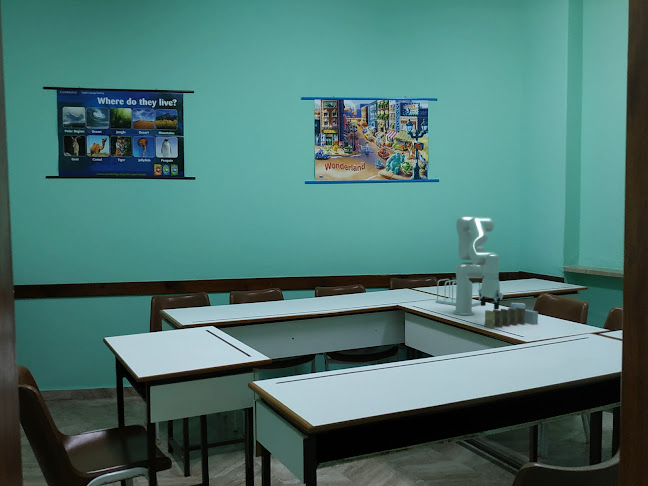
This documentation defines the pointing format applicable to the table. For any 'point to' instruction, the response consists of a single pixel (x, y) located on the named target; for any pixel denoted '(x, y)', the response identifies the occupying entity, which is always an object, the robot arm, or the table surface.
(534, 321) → the bookend block
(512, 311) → the domino
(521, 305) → the medicine box
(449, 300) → the file sorter
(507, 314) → the domino
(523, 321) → the domino
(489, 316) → the domino
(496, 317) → the domino
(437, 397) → the table surface
